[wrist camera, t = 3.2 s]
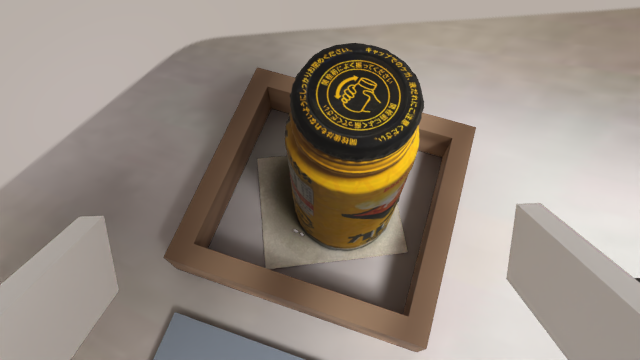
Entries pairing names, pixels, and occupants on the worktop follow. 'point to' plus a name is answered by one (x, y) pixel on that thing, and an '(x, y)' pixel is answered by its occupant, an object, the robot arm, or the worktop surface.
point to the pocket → (299, 295)
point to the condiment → (342, 159)
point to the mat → (211, 344)
